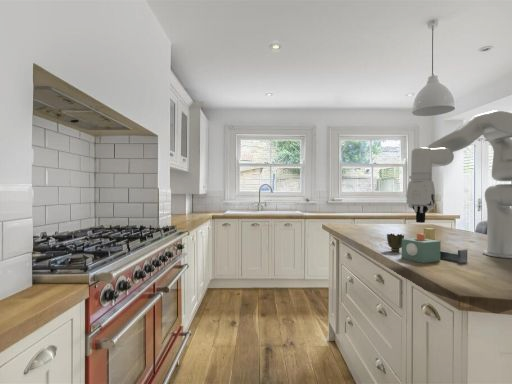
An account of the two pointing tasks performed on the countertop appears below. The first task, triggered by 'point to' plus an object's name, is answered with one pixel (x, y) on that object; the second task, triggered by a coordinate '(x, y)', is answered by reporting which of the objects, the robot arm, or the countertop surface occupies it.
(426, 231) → the carriage
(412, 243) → the green box
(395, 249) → the cup
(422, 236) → the orange peg
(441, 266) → the countertop surface
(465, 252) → the rail
